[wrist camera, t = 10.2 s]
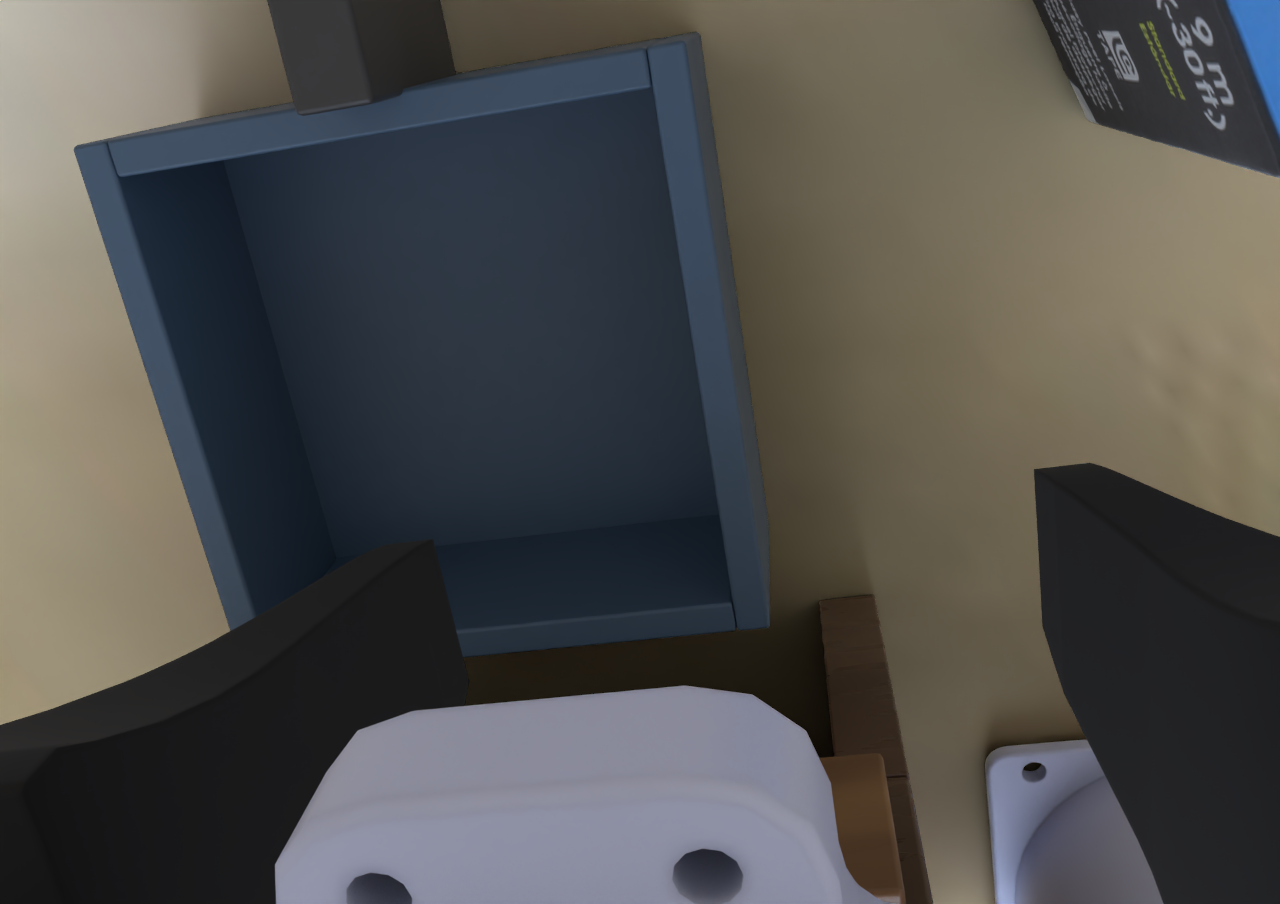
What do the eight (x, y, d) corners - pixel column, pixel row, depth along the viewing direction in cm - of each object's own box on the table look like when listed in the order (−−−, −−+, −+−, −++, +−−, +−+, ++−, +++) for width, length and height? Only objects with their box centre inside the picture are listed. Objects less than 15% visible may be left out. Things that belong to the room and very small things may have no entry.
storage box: (648, -341, 19) (602, -475, 14) (769, 523, 25) (771, 674, 19) (98, -218, 21) (-141, -296, 15) (326, 572, 26) (210, 726, 21)
